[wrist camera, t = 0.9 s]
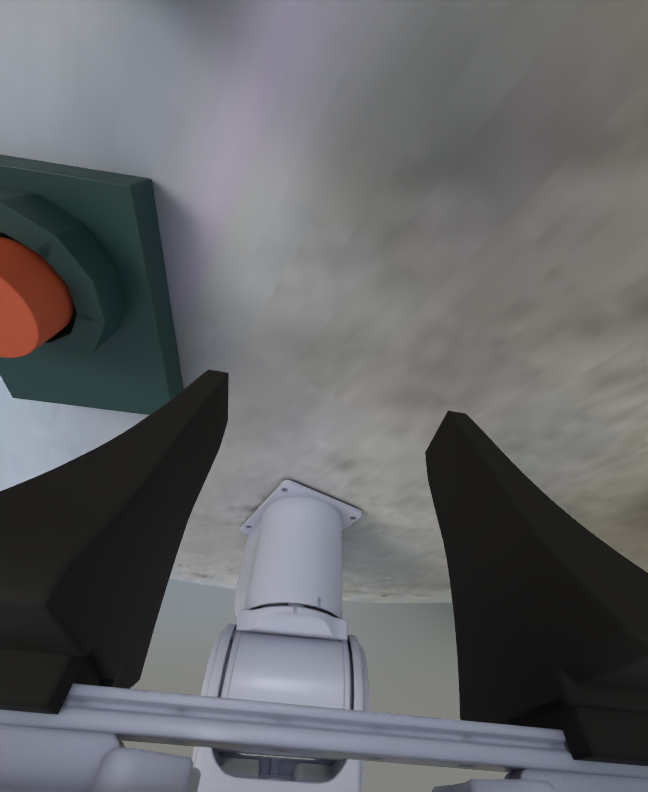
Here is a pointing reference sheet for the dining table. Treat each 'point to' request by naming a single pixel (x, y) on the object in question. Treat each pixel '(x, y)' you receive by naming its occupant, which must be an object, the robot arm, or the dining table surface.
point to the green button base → (94, 287)
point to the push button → (29, 300)
